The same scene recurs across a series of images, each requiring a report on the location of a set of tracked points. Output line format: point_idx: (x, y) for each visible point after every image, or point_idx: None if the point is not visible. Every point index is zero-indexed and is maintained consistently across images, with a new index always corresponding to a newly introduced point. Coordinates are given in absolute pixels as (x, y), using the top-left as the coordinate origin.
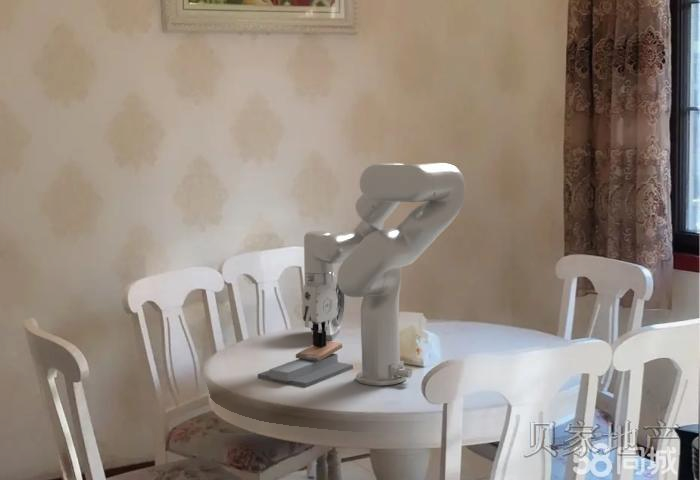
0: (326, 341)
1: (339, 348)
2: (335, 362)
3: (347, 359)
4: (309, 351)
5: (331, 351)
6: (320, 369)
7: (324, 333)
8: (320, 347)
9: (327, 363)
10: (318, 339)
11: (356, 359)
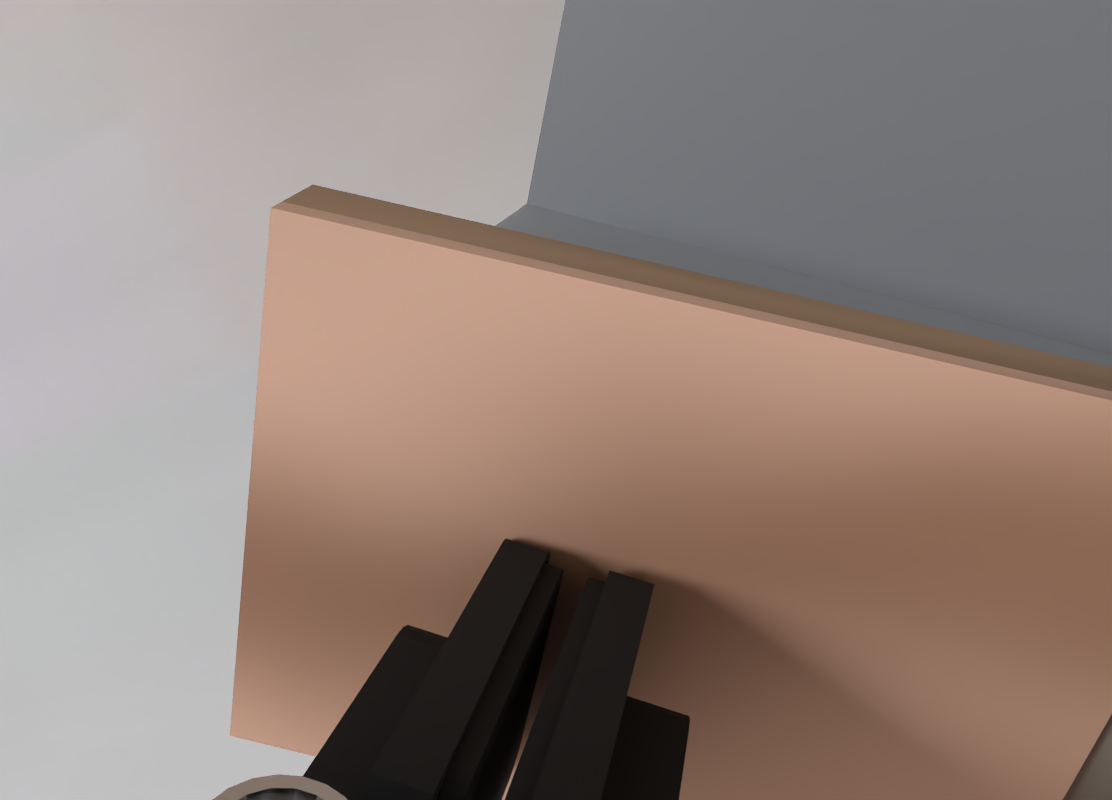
0: (253, 617)
1: (418, 214)
2: (588, 223)
3: (152, 193)
4: (907, 750)
5: (734, 298)
6: (1100, 325)
7: (460, 767)
8: None
9: (834, 296)
10: (672, 782)
11: (89, 45)
